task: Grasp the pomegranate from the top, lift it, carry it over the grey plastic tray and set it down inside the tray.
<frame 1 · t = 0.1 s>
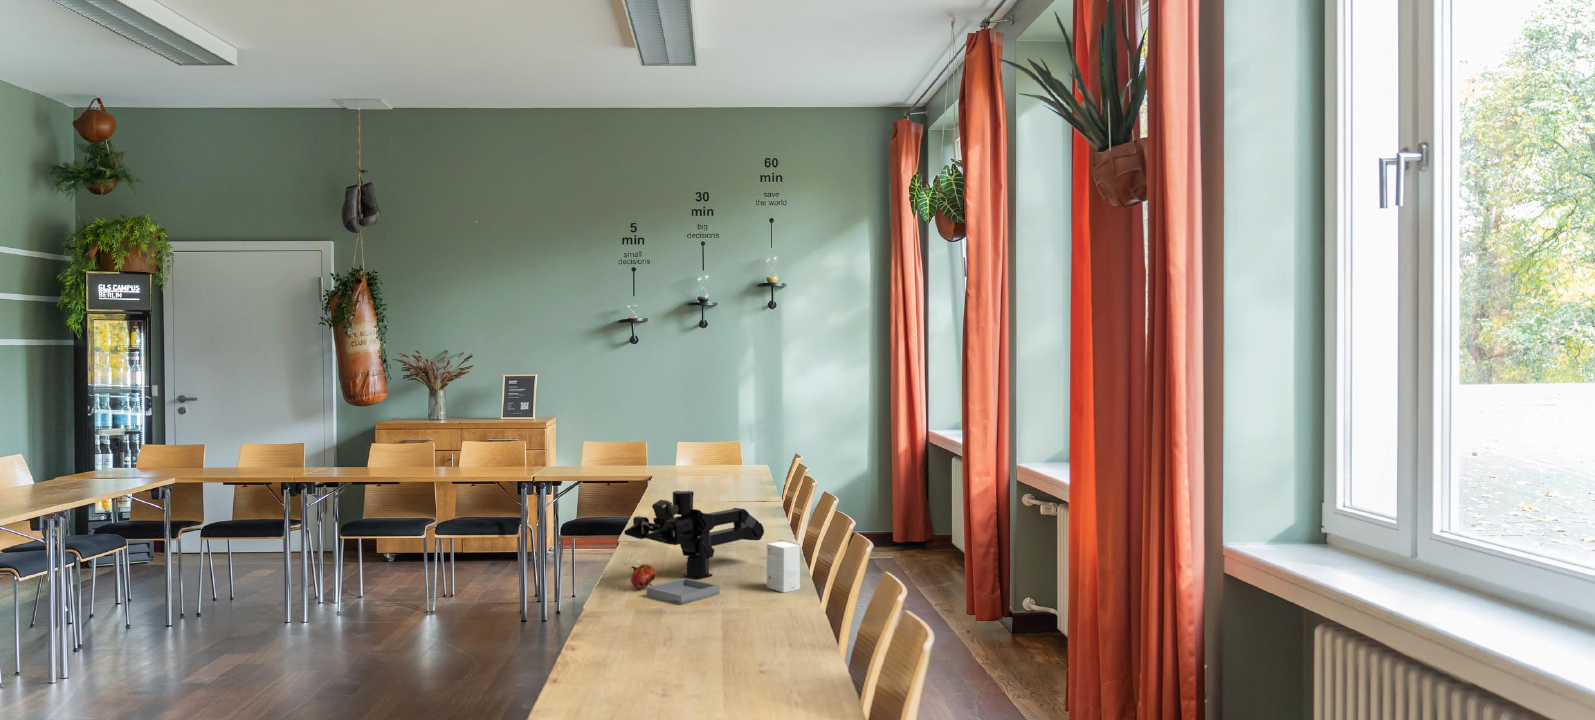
hand: (635, 534, 270), 17 cm above the table, tool horizontal, fingers open, 9 cm apart
tray: (683, 595, 267), on the table
pomegranate: (644, 589, 274), on the table
small box: (783, 589, 275), on the table
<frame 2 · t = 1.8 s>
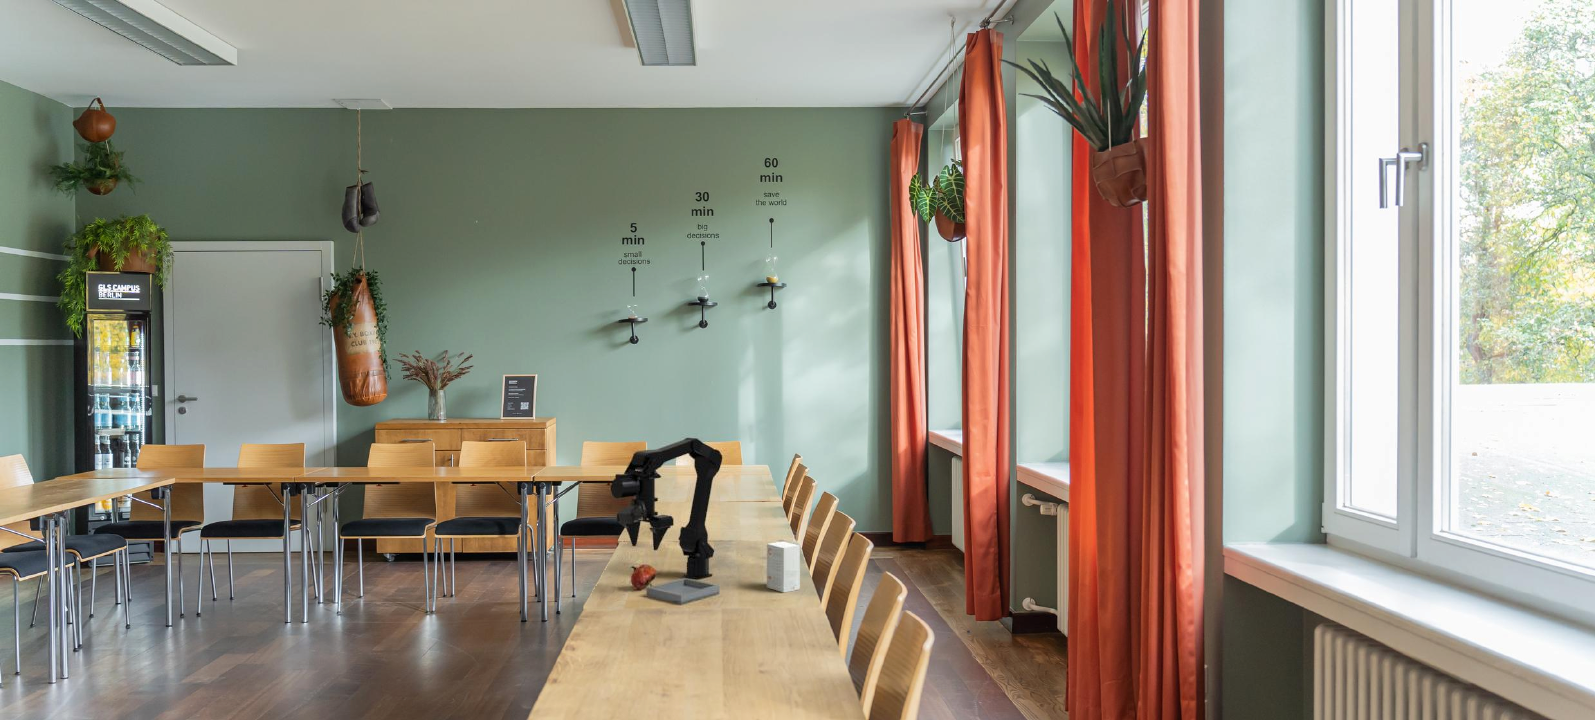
hand: (644, 548, 274), 12 cm above the table, tool pointing down, fingers open, 9 cm apart
nothing on the table moved.
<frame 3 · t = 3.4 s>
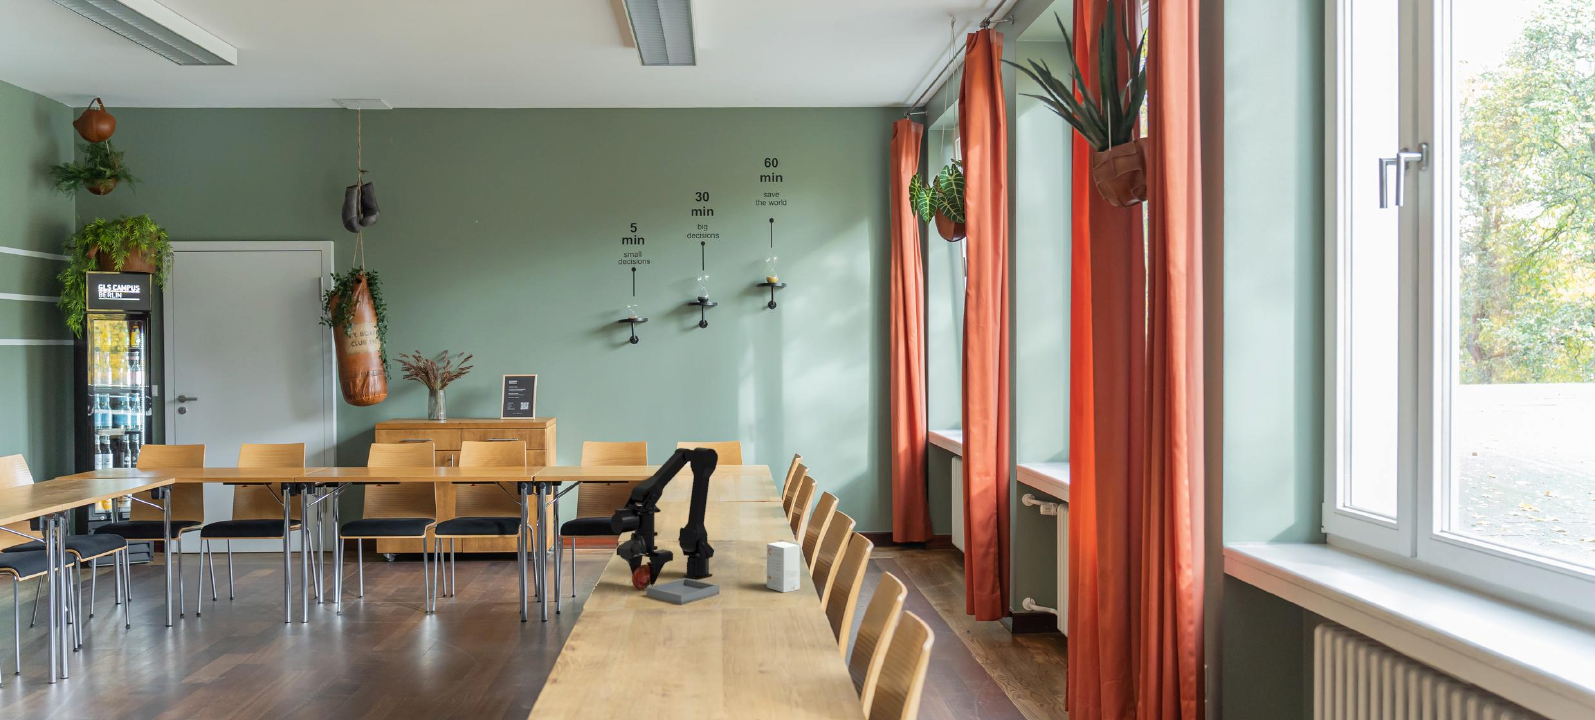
hand: (644, 582, 274), 2 cm above the table, tool pointing down, fingers closed on pomegranate, 7 cm apart
pomegranate: (645, 589, 274), on the table, touching gripper
everything else where it was.
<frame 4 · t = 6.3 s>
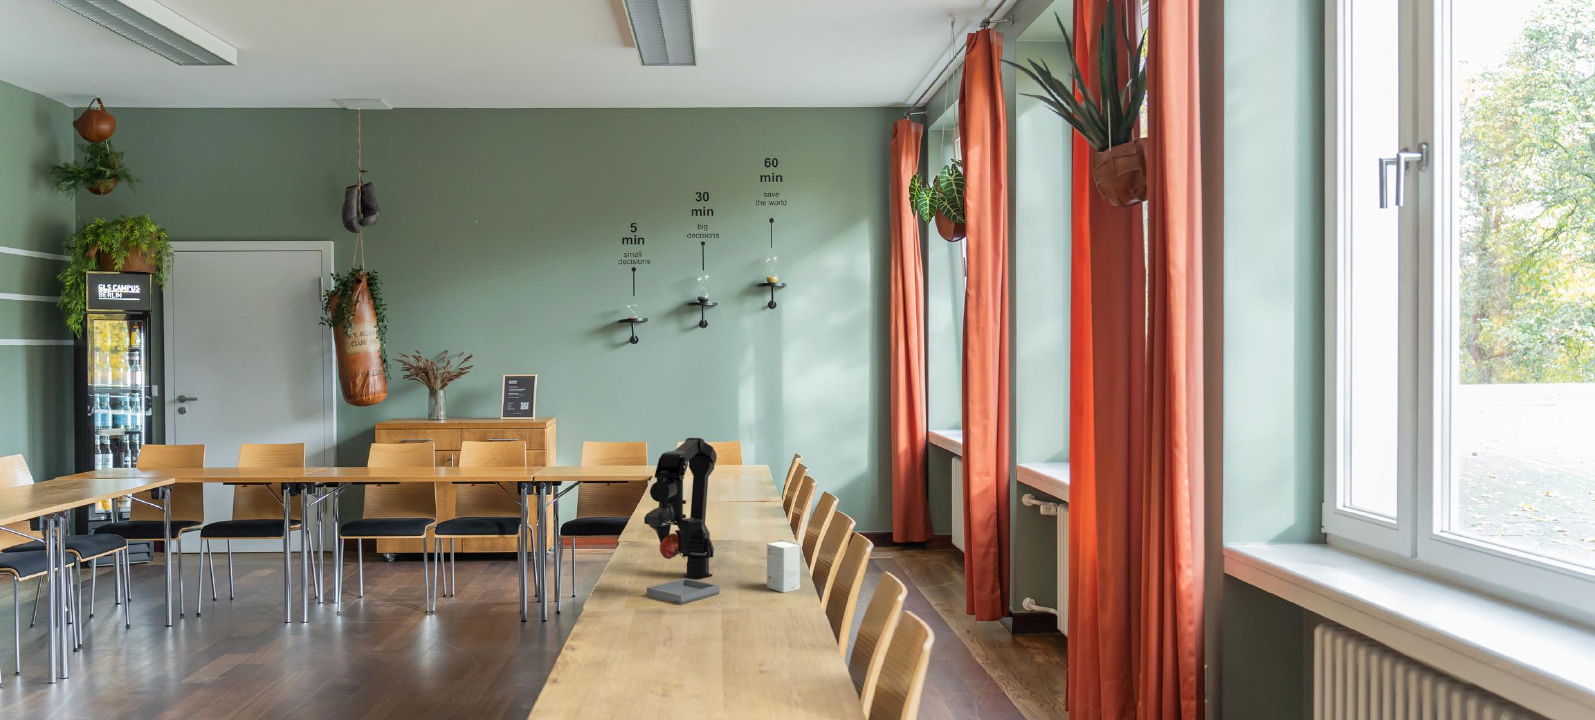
hand: (672, 551, 269), 12 cm above the table, tool pointing down, fingers closed on pomegranate, 7 cm apart
pomegranate: (673, 558, 269), point 10 cm above the table, touching gripper
everything else where it was.
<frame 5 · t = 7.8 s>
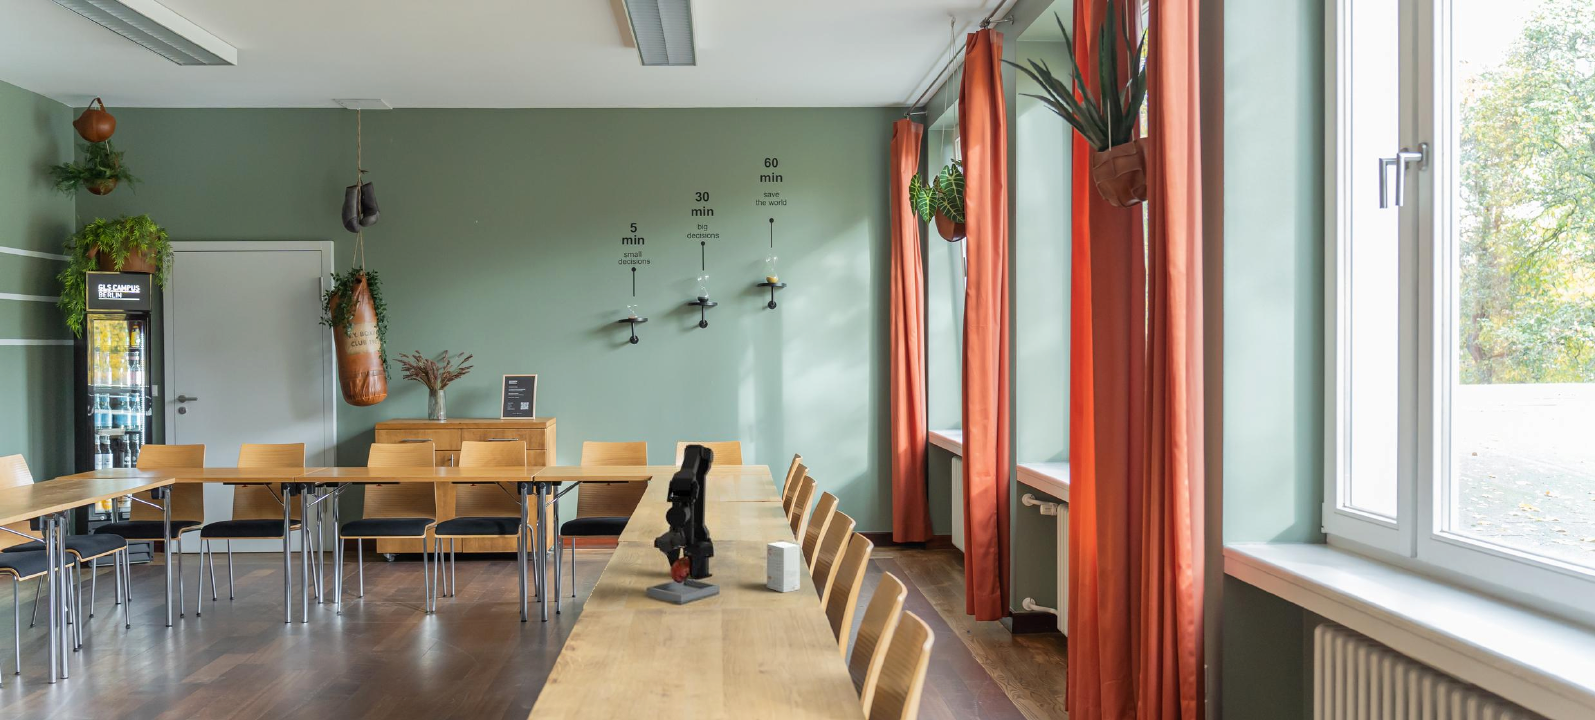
hand: (683, 575, 267), 6 cm above the table, tool pointing down, fingers closed on pomegranate, 7 cm apart
pomegranate: (684, 582, 267), point 3 cm above the table, touching gripper
everything else where it was.
when the fingers open (4 cm above the table, at t = 9.1 s): pomegranate drops 1 cm, resting on tray.
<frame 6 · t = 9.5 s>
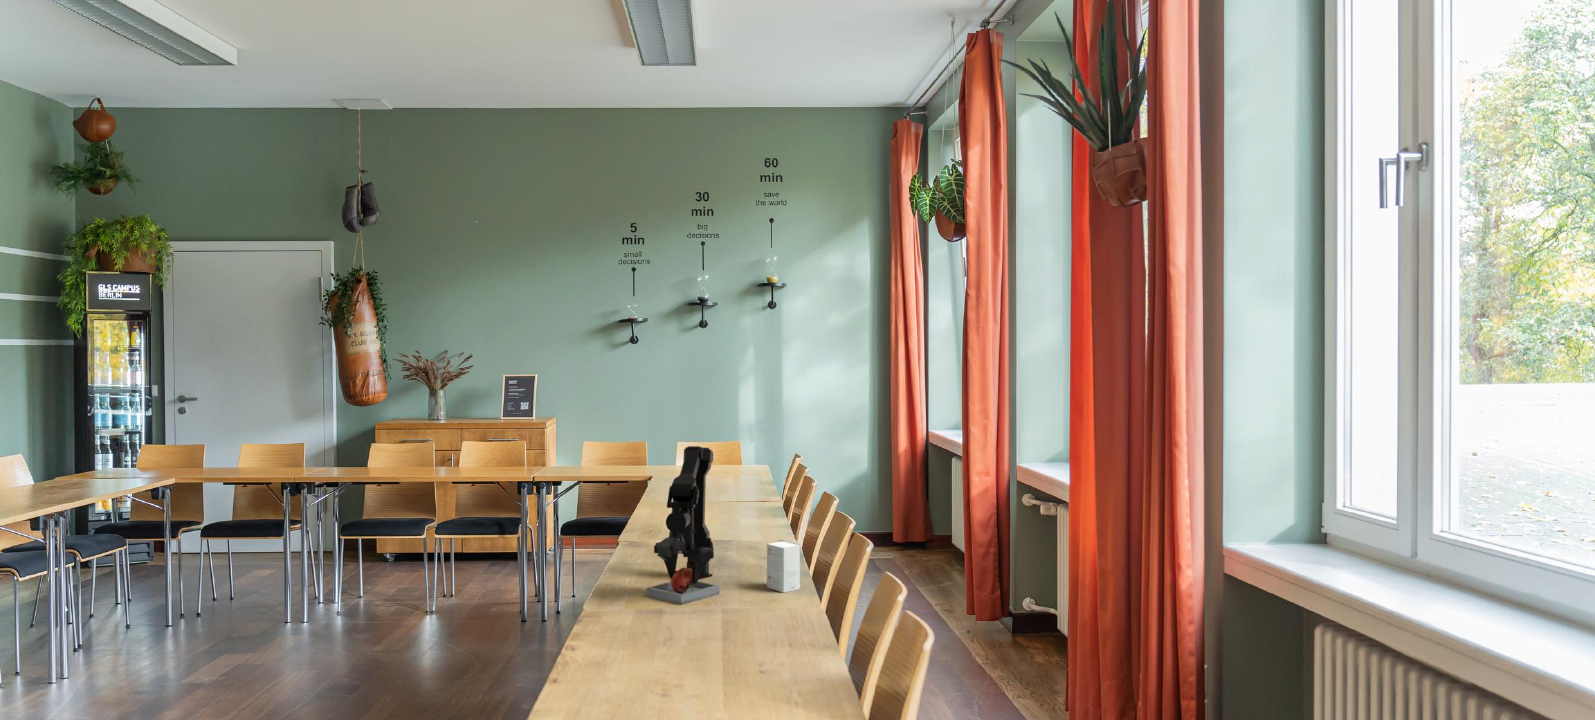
hand: (683, 581, 267), 4 cm above the table, tool pointing down, fingers open, 9 cm apart
pomegranate: (684, 593, 267), point 1 cm above the table, touching tray
everything else where it was.
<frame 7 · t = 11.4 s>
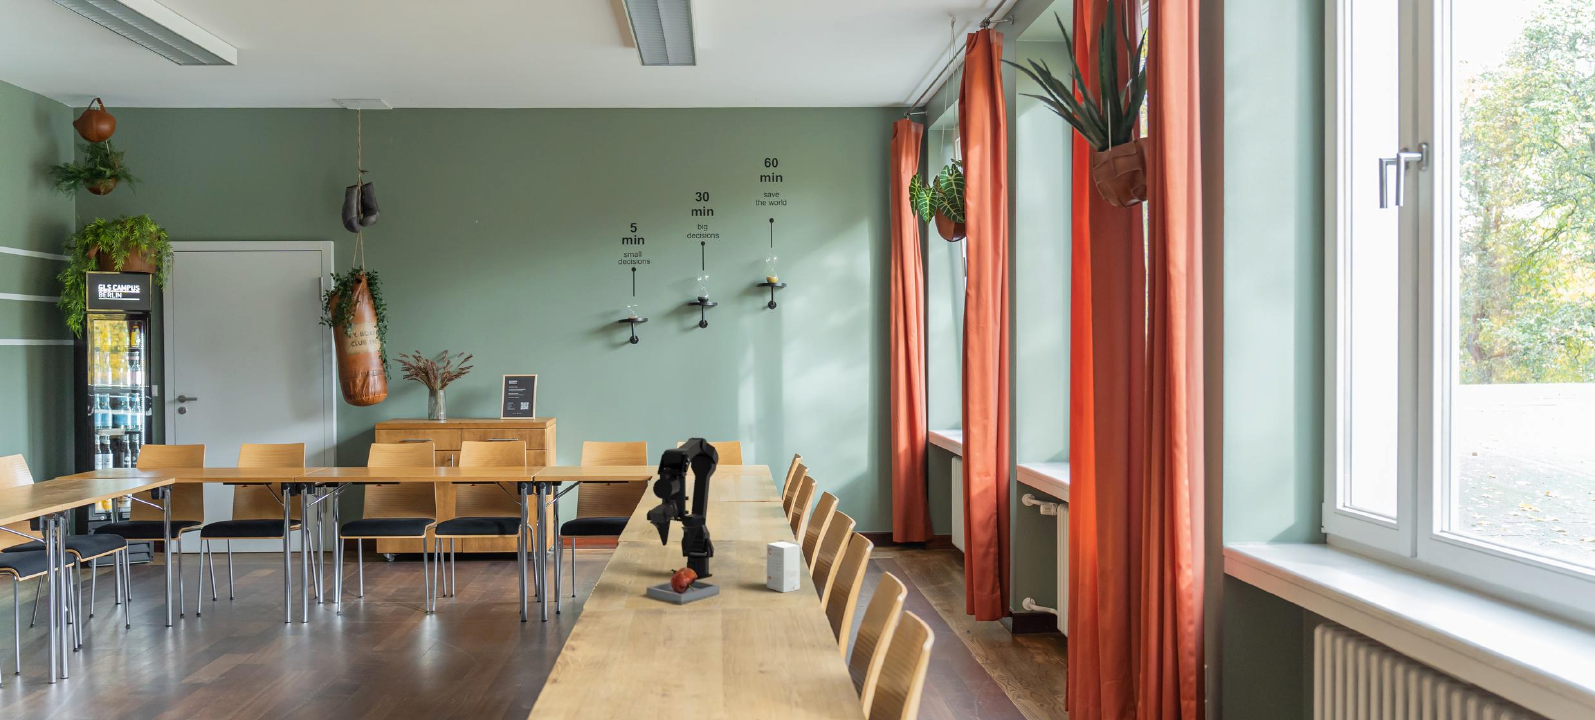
hand: (675, 547, 271), 13 cm above the table, tool pointing down, fingers open, 9 cm apart
nothing on the table moved.
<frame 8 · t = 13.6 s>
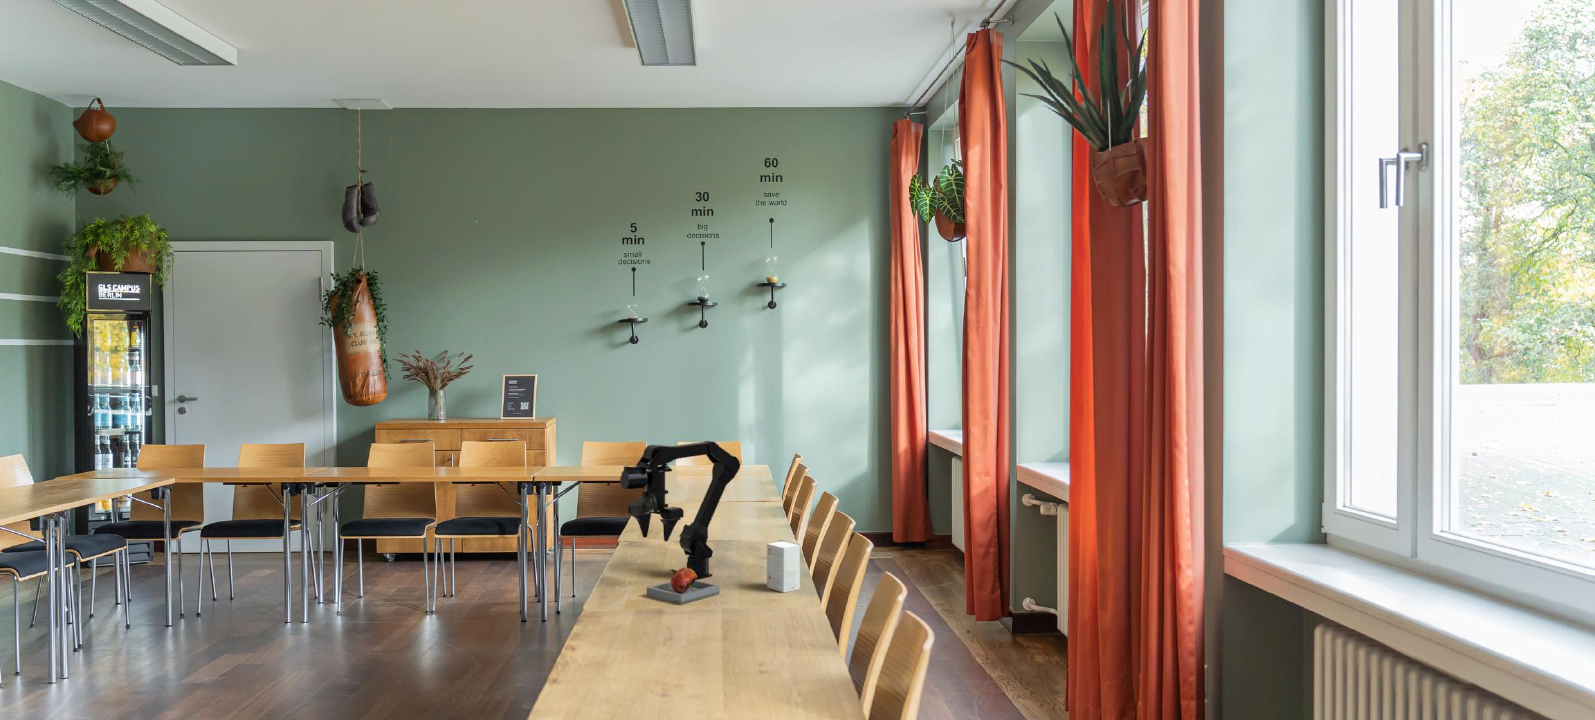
hand: (655, 539, 282), 13 cm above the table, tool pointing down, fingers open, 9 cm apart
nothing on the table moved.
at the end: pomegranate inside the target area on the tray (0.5 cm from its centre), point 0.6 cm above the tray's base; pomegranate touching tray; the gripper is holding nothing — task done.
